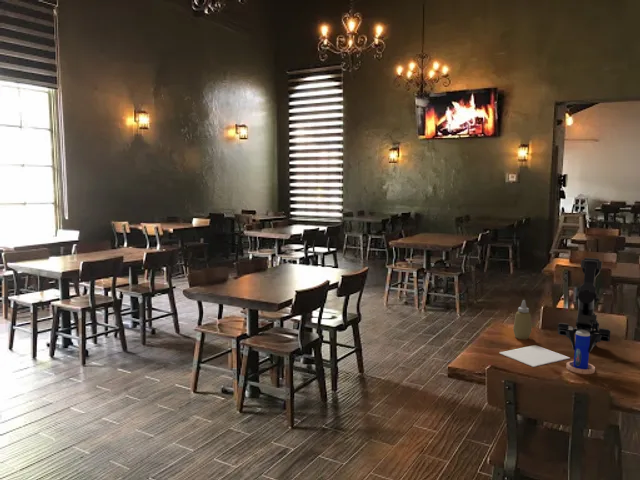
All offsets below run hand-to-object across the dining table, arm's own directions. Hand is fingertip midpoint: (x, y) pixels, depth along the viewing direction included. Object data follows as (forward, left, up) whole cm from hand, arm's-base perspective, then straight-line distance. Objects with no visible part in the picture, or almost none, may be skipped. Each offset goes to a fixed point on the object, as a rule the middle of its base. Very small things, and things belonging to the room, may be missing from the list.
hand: (581, 350), depth 208 cm
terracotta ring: (-1, -1, -8) cm, 8 cm away
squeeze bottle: (-12, -40, -8) cm, 42 cm away
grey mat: (+3, -20, -8) cm, 21 cm away
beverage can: (-1, -1, -8) cm, 8 cm away
